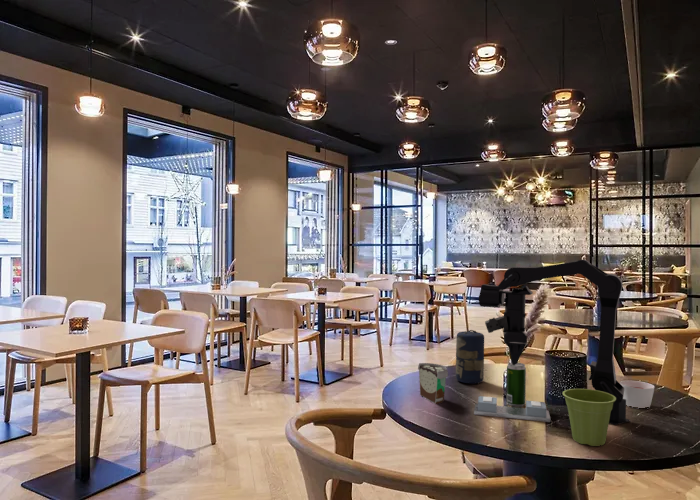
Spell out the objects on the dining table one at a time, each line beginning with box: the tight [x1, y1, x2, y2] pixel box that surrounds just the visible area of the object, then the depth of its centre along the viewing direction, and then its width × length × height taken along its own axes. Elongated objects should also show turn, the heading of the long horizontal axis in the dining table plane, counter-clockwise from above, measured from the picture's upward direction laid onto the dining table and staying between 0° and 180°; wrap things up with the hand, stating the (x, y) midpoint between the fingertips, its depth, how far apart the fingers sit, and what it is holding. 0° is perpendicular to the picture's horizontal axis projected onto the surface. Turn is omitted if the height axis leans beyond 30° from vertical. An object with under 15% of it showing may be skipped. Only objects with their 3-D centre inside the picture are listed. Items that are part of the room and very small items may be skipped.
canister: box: [455, 329, 485, 384], centre depth 179 cm, size 10×10×18 cm
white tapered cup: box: [619, 380, 655, 409], centre depth 154 cm, size 9×9×6 cm
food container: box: [417, 362, 449, 405], centre depth 158 cm, size 12×6×10 cm, turn 22°
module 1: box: [477, 395, 498, 412], centre depth 146 cm, size 5×6×3 cm
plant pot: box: [562, 388, 616, 447], centre depth 125 cm, size 12×12×11 cm
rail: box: [473, 403, 551, 423], centre depth 144 cm, size 20×7×1 cm, turn 73°
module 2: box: [525, 399, 547, 417], centre depth 143 cm, size 5×6×3 cm
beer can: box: [505, 361, 527, 408], centre depth 153 cm, size 5×5×12 cm
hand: (513, 361), depth 153 cm, fingers open, 9 cm apart
